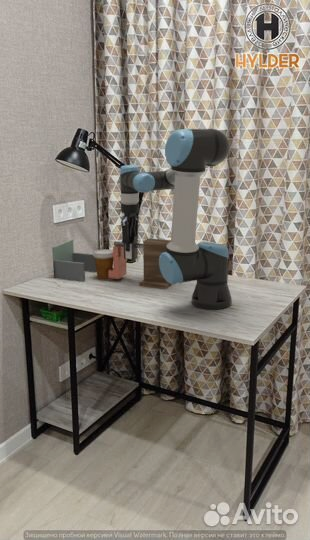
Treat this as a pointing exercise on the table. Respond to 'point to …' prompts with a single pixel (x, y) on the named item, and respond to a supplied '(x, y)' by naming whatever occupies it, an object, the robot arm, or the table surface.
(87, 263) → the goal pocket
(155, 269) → the brown wooden flanged block
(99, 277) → the disposable coffee cup
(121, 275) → the player rod
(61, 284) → the table surface
